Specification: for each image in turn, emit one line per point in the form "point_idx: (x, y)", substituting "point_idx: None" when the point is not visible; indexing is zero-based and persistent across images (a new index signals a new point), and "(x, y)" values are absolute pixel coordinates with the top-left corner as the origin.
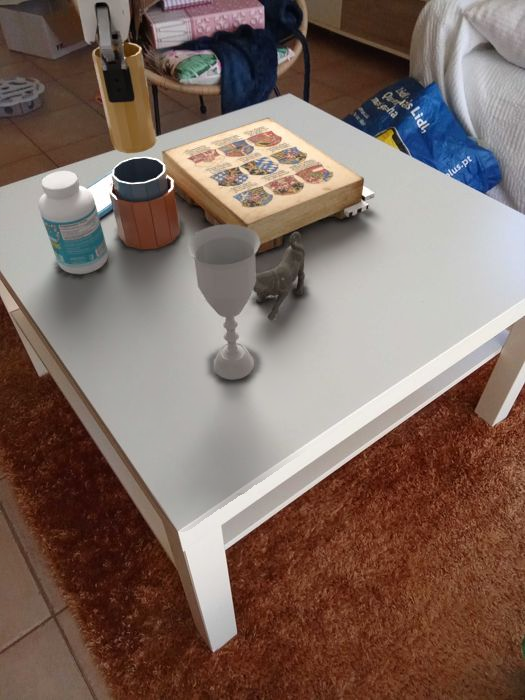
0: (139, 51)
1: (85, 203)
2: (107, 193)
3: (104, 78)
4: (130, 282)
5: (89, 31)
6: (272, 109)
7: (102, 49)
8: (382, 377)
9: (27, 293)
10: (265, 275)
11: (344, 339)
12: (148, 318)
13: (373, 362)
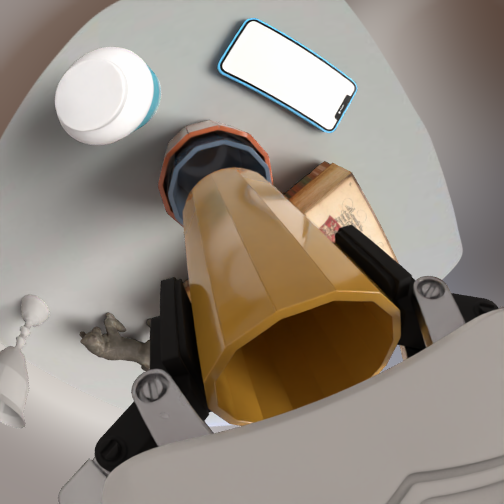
0: None
1: (88, 141)
2: (292, 80)
3: (161, 333)
4: (94, 177)
5: None
6: (450, 247)
7: (62, 496)
8: (74, 383)
9: (58, 62)
10: (92, 352)
11: (94, 368)
12: (48, 222)
13: (83, 380)
